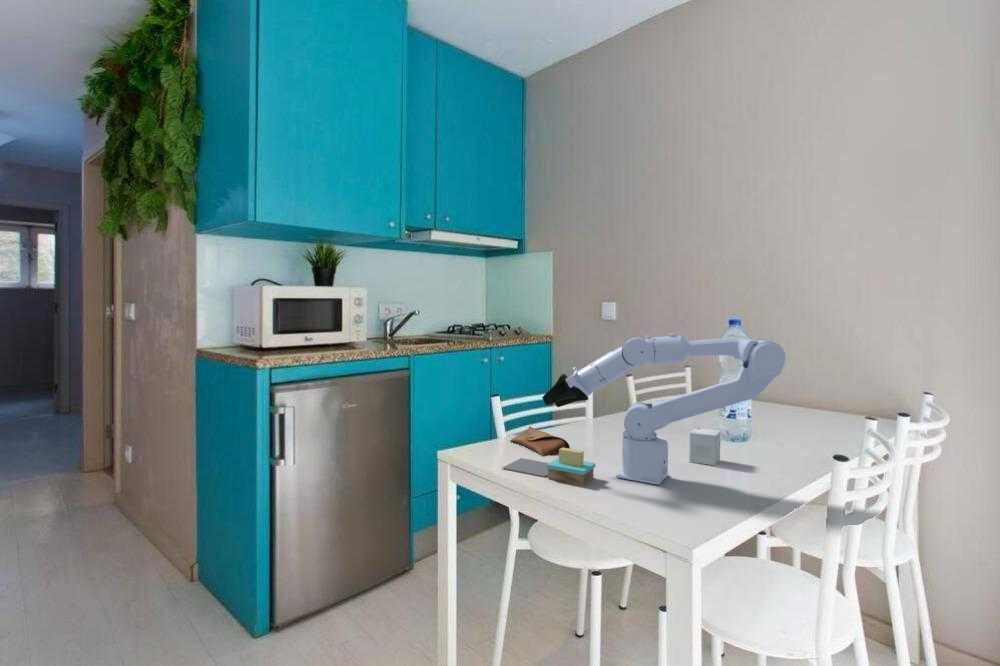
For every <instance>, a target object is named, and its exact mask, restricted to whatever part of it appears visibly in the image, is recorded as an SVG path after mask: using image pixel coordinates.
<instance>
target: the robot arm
mask: <svg viewBox="0 0 1000 666" xmlns="http://www.w3.org/2000/svg"><path fill="white" fill-rule="evenodd" d="M690 356H691V357H693V356H696V357H699V356H701V357H703V356H731V357H733V358H736V359H738V360H740V361H742V365H741V367H740V370H739V372H738V374H737V377H736V378H733V379H729V380H726V381H723V382H720V383H717V384H713V385H710V386H707V387H704V388H700V389H697V390H694V391H691V392H687V393H683V394H681V395H678V396H675V397H671V398H668V399H665V400H656V401H655V400H654V401H652V402H642V401H641V402H640V401H639V402H638V401H637V402H635V403H633V404H631V405H630V406H629V407H628V408H627V410H626V415H625V417H624V420H623V426H624V429H625V430H624V431H623V432H622V450H621V451H622V452H621V453H622V457H621V458H622V459H621V460H622V462H621V464H622V467H621V470H620V471H618V473H616V474H615V477H616V478H618V479H619V478H620V479H625V480H630V481H635V482H641V483H646V484H652V485H657V486H658V485H661V484H662V482H663V481H664V480H665V479H666V478H667V477H668V476H669V470H668V469H669V465H668V464H669V444H668V441H667V440H666V439H662V438H659V437H657V436H658V433H656V431H657V430H660V429H663V428H665V427H667V426H668V425H670V424H671V423H674V422H677V421H681V420H684V419H687V418H692V417H694V416H698V415H702V414H704V413H708V412H711V411H715V410H718V409H721V408H724V407H729V406H733V405H735V404H739V403H741V402H746V401H749V400H753V399H755V398H757V397H759V395H761V393H763V392H764V390H765V389H767V387H768V386H769V385H770V384H771V382H772V381H773V380H774V379H776V378H777V377H778V376H779V375H781V374H782V371H783V368H784V365H785V362H786V358H787V357H786V352H785V350H784V348H783V347H782V346H781V345H780V344H779V343H777V342H775V341H769V340H768V339H766V338H755V339H753V338H749V337H734V336H733V337H722V338H714V339H713V338H711V339H710V338H709V339H700V340H689V341H688V340H687V339H686V338H685V337H684V336H682V335H676V333H675V332H672V333H668V335H667V336H654V337H653V336H651V335H648V334H647V335H645V339H644V338H643V337H633V338H629V339H627V340H626V342H625V343H624V345H622V346H619V347H617V348H615V349H614V350H612V351H611V350H610V351H609V352H608V353H606V354H604V355H602V356H601V357H599V358H597V359H596V360H594V361H593V362H591V363H589V364H588V365H586V366H585V367H582V368H580V369H578V367H576V366H574V367H572V370H573V374H572V375H570V376H569V377H568V376H567V374H565V373H562V374H561V375H559V377H558V379H557V381H556V382H555V384H554V385H553V386H552V387H551V388H550V389H548V391H546V392H545V394H544V395H542V397H541V399H542V400H543V402H544V404H545V406H550V405H553V404H554V405H555V406H556V408H561V407H564V406H567V405H569V404H573V403H576V402H583V401H588V400H589V396H591V395H592V393H594V392H596V391H597V390H600V389H601V388H603V387H605V386H606V385H607V384H609V383H611V382H614V380H616V379H619V378H620V377H622V376H623V375H625V374H626V373H627V372H628V371H630V370H631V369H633V368H634V367H635V366H638V367H642V366H644V365H646V364H647V363H648V362H649V363H652V364H673V363H683V362H685V361H686V360H687V358H688V357H690Z"/></svg>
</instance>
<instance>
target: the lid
mask: <svg viewBox="0 0 1000 666" xmlns="http://www.w3.org/2000/svg"><path fill="white" fill-rule="evenodd" d="M584 453H585V451H584V450H580V449H573V448H570V449H569V448H561V449H559V454H558V457H557V458H556V459H554V460H551V461H550V462H547V463H548V464H546V468H549V469H554V470H559V471H565V472H570V473H575V474H581V475H584V474H586V473H587V472H589V471H590V470H592V469H593V468H596V462H591V461H585V460H584Z"/></svg>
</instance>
